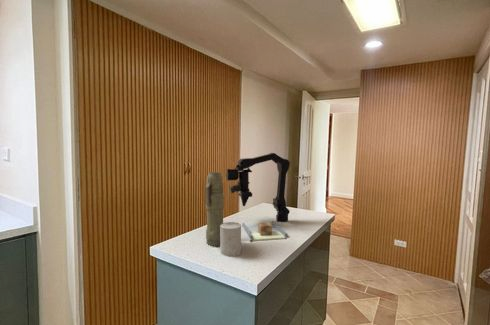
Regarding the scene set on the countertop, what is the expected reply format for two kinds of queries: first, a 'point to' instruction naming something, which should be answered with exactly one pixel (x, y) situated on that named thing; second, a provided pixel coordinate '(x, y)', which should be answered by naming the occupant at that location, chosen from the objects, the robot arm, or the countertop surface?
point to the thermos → (214, 207)
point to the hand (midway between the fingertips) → (243, 206)
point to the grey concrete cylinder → (230, 239)
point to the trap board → (275, 235)
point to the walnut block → (265, 228)
